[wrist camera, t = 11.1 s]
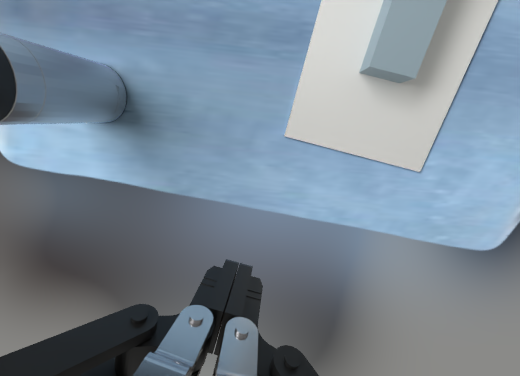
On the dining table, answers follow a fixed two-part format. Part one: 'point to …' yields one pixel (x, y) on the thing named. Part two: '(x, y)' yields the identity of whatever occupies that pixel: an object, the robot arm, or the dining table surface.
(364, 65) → the block
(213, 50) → the dining table surface
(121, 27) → the dining table surface
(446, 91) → the mat
